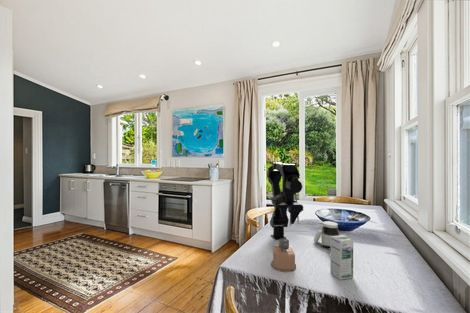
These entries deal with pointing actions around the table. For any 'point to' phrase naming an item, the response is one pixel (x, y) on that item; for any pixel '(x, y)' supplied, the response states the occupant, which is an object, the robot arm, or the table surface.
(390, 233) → the table surface
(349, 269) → the syrup box
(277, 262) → the brown squat piece
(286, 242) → the pump head
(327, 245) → the spread jar
